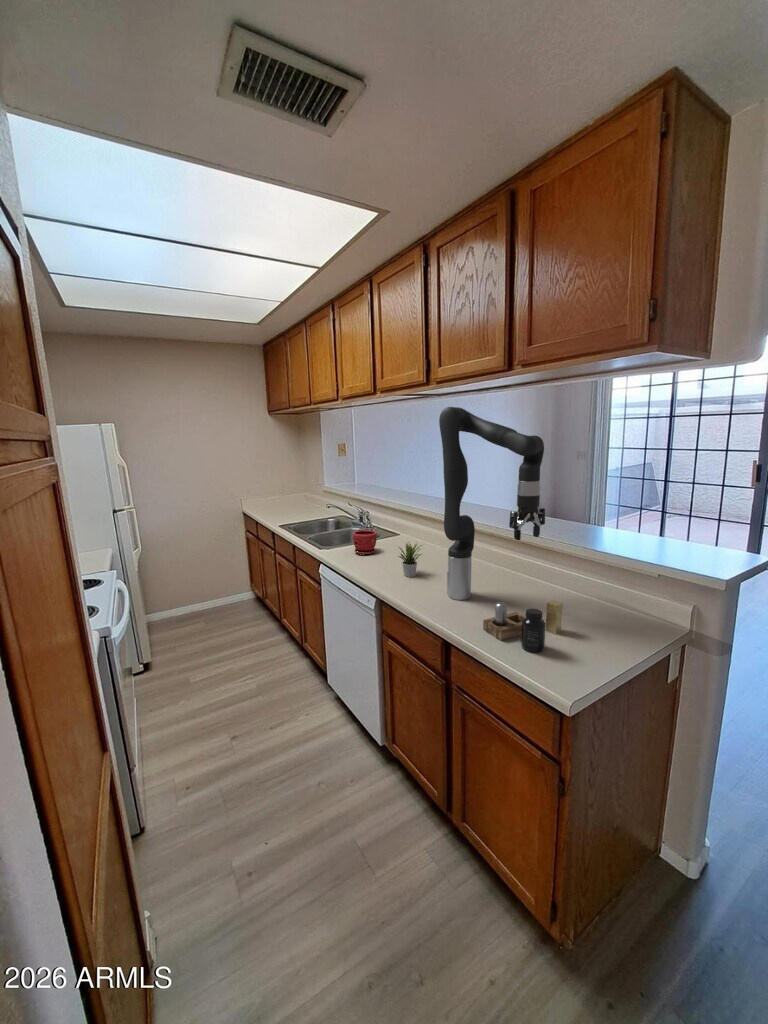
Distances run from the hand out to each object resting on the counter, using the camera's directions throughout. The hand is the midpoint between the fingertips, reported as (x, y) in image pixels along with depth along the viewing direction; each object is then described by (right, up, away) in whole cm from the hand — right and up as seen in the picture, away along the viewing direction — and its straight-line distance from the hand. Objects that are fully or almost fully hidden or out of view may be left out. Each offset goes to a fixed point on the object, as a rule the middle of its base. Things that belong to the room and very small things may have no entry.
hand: (526, 538), depth 153 cm
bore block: (-9, -31, -9) cm, 33 cm away
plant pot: (-62, -14, +87) cm, 107 cm away
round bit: (-12, -31, -10) cm, 35 cm away
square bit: (+6, -30, -10) cm, 32 cm away
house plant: (-38, -21, +48) cm, 64 cm away
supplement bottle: (-5, -33, -20) cm, 39 cm away
